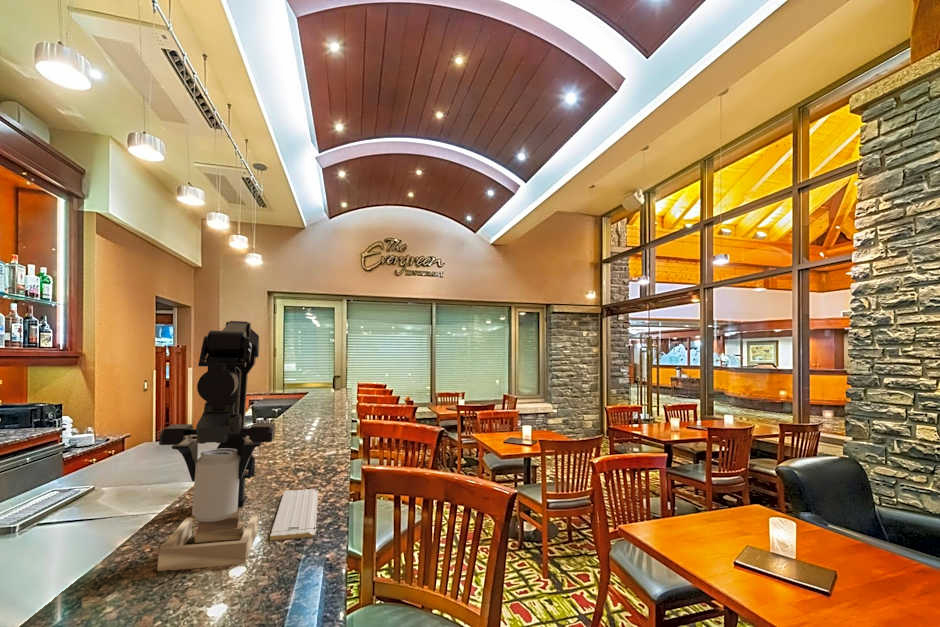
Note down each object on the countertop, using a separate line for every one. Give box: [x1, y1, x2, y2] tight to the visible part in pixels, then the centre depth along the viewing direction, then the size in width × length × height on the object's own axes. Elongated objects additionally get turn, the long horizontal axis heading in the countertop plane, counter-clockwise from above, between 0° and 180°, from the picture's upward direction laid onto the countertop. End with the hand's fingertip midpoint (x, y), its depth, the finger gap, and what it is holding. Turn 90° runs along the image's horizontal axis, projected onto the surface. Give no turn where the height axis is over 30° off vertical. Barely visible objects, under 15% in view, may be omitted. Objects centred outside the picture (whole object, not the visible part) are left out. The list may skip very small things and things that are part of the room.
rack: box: [156, 512, 260, 572], centre depth 86 cm, size 15×13×4 cm
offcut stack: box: [194, 511, 245, 544], centre depth 91 cm, size 4×8×4 cm, turn 107°
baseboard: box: [269, 488, 322, 541], centre depth 106 cm, size 30×3×10 cm
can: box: [191, 448, 241, 522], centre depth 87 cm, size 8×8×12 cm
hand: (217, 479), depth 87 cm, fingers closed on can, 7 cm apart
